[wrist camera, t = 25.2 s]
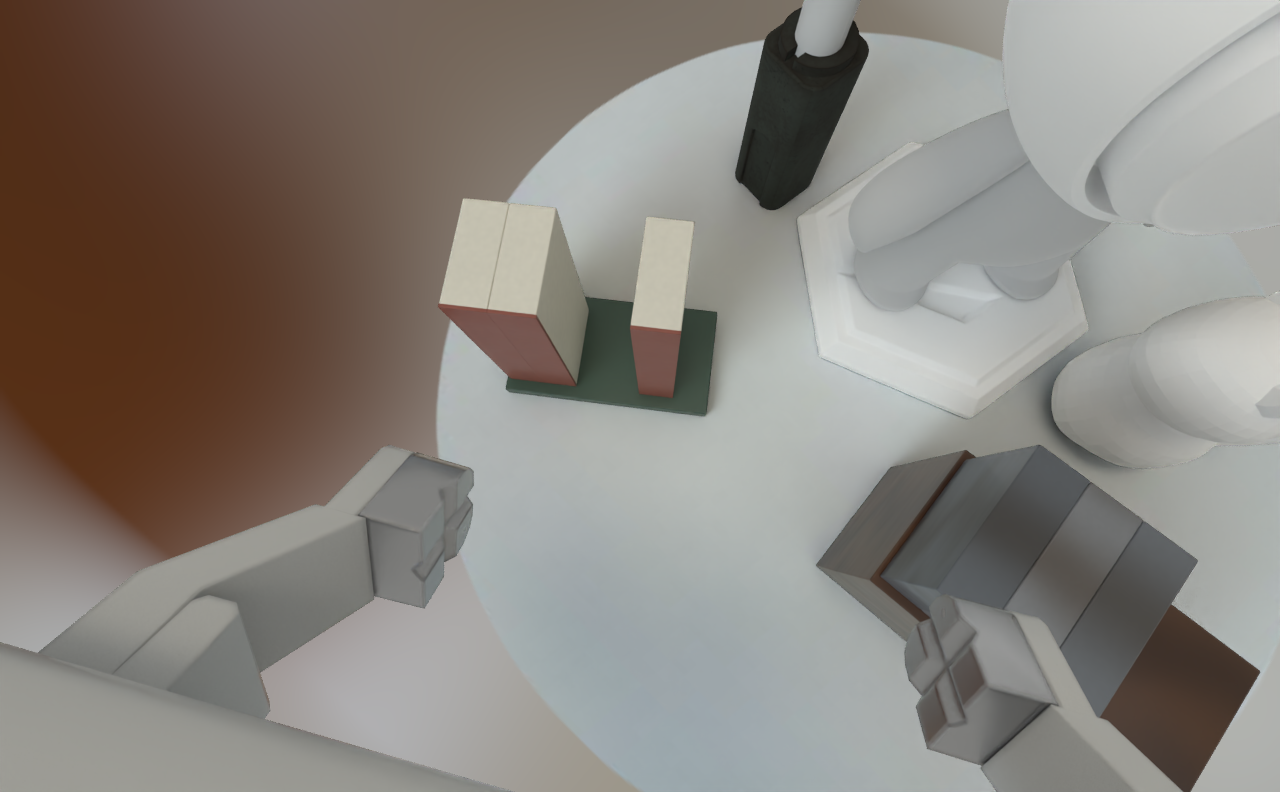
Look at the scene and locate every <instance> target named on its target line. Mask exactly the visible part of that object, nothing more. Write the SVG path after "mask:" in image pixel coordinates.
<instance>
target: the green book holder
mask: <svg viewBox="0 0 1280 792" xmlns="http://www.w3.org/2000/svg"><path fill="white" fill-rule="evenodd" d="M633 305H634V303H633V302H624V301H615V300H606V299H597V298H589V297H585V296H584V293H583V290H582V287H581V284H580V281H579V277H578V274H577V271H576V268H575V265H574V262H573V259H572V256H571V253H570V249H569V246H568V243H567V240H566V237H565V234H564V231H563V228H562V224H561V221H560V218H559V215H558V212H557V209H556V208H553V207H543V206H534V205H524V204H515V203H510V204H509V203H504V202H495V201H484V200H475V199H466V198H464V199H463V202H462V206H461V211H460V215H459V219H458V224H457V229H456V232H455V237H454V241H453V245H452V250H451V255H450V259H449V263H448V267H447V272H446V276H445V280H444V285H443V289H442V294H441V298H440V303H439V304H438V307H439V308H440V309H441V310H442V311H443V312H444V313H445V314H446V315H447V316H448V317H449V318H450V319H451V320H452V321H453V322H454V323H455V324H456V325H457V326H458V327H459V328H460V329H461V330H462V331H463V332H464V333H465V334H466V335H467V336H468V337H469V338H470V339H471V340H472V341H473V342H474V343H475V344H476V345H477V346H478V347H479V348H480V349H481V350H482V351H483V352H484V353H485V354H486V355H487V356H488V357H490V358H491V359H492V360H493V361H494V362H495V363H496V364H497V365H498V366H499V367H500V368H501V369H502V370H503V371H504V372H505V373H506V374H507V375H508V380H507V385H506V390H508V391H509V392H513V393H521V394H529V395H537V396H545V397H553V398H561V399H569V400H577V401H585V402H593V403H601V404H609V405H617V406H625V407H633V408H641V409H649V410H657V411H665V412H673V413H681V414H689V415H697V416H705V415H706V411H707V402H708V393H709V384H710V375H711V366H712V357H713V347H714V338H715V329H716V320H717V312H712V311H703V310H694V309H685V308H684V313H683V321H682V329H681V337H680V345H679V353H678V361H677V368H676V376H675V384H674V392H673V398H668V397H660V396H652V395H644V394H639V390H638V382H637V375H636V368H635V361H634V354H633V346H632V339H631V332H630V325H631V319H632V312H633Z"/></svg>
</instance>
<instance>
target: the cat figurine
mask: <svg viewBox="0 0 1280 792" xmlns="http://www.w3.org/2000/svg"><path fill="white" fill-rule="evenodd" d="M1051 404H1052V413H1053V418H1054V421H1055V423H1056V424H1057V426H1058V428H1059V429H1060V431H1062V432H1063V433H1064V434H1065V435H1066V436H1067V437H1068V438H1069V439H1071V440H1072V441H1074V442H1075V443H1077V444H1078V445H1080V446H1082V447H1083V448H1085V449H1086V450H1088V451H1090V452H1091V453H1093V454H1095V455H1097V456H1099V457H1100V458H1102V459H1104V460H1106V461H1108V462H1111V463H1113V464H1116V465H1118V466H1124V467H1129V468H1139V469H1147V468H1159V467H1169V466H1173V465H1177V464H1182V463H1186V462H1190V461H1193V460H1195V459H1197V458H1199V457H1201V456H1203V455H1204V454H1205V453H1207V452H1208V451H1209V450H1210V449H1212V448H1213V447H1214V446H1250V445H1267V444H1277V443H1280V291H1278V292H1275V293H1273V294H1271V295H1269V296H1267V297H1261V296H1249V297H1236V298H1227V299H1220V300H1214V301H1210V302H1206V303H1202V304H1199V305H1195V306H1192V307H1188V308H1185V309H1183V310H1181V311H1178V312H1176V313H1173V314H1171V315H1169V316H1166V317H1164V318H1162V319H1160V320H1159V321H1157V322H1155V323H1154V324H1152V325H1151V326H1150V327H1149V328H1148V329H1147V330H1146V331H1145V332H1143V333H1140V334H1135V335H1129V336H1125V337H1120V338H1116V339H1114V340H1111V341H1108V342H1106V343H1103V344H1101V345H1098V346H1096V347H1093V348H1091V349H1089V350H1087V351H1085V352H1084V353H1082V354H1081V355H1079V356H1077V357H1076V358H1074V359H1073V360H1071V361H1070V362H1068V363H1067V365H1066V366H1065V367H1064V368H1063V370H1062V371H1061V372H1060V374H1059V375H1058V376H1057V379H1056V381H1055V383H1054V387H1053V391H1052V399H1051Z"/></svg>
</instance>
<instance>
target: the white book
mask: <svg viewBox="0 0 1280 792" xmlns="http://www.w3.org/2000/svg"><path fill="white" fill-rule="evenodd" d="M694 225H695V222H693V221H684V220H674V219H665V218H655V217H646V223H645V230H644V237H643V243H642V250H641V257H640V264H639V271H638V278H637V284H636V291H635V298H634V305H633V312H632V319H631V325H630V332H631V339H632V346H633V354H634V361H635V368H636V375H637V382H638V390H639V394H644V395H652V396H660V397H668V398H673V392H674V384H675V376H676V368H677V361H678V353H679V345H680V337H681V329H682V321H683V313H684V305H685V297H686V289H687V281H688V273H689V265H690V257H691V249H692V241H693V233H694Z"/></svg>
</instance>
